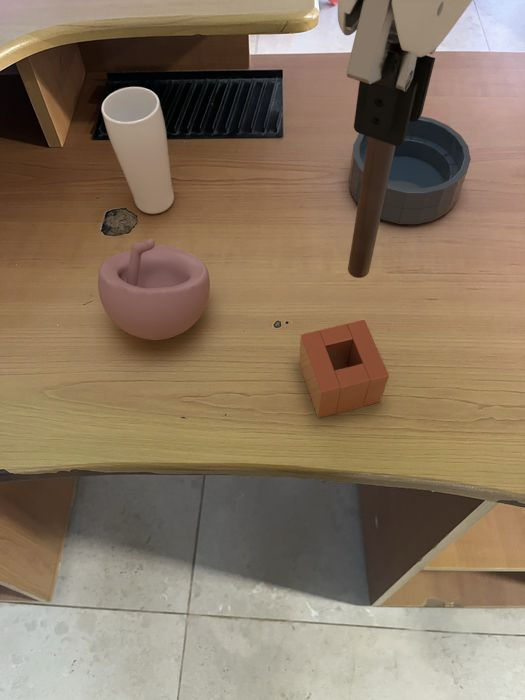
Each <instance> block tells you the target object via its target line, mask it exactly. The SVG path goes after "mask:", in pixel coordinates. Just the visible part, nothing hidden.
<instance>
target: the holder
mask: <svg viewBox="0 0 525 700" xmlns="http://www.w3.org/2000/svg"><path fill="white" fill-rule="evenodd" d="M299 342H300V343H299V361H298V364H299V367H300V371H301V373H302V376H303V379H304V381H305V384H306V387H307V391H308V393H309V396H310V399H311V402H312V405H313V408H314V410H315V414H316V416H317V418H318V419H319V418H324V417H328V416H331V415H335V414H336V415H337V414H340V413H343V412H348V411H351V410H355V409H358V408H359V409H360V408H362V407H366V406H369V405H374V404H378V403H380V402H381V401H382V398H383V394H384V392H385V389H386V386H387V383H388V380H389V377H390V373H389V372H388V370H387V367H386V365H385V362H384V360H383V358H382V356H381V354H380V351H379V349H378V347H377V344H376V341H375V339H374V338H373V335H372V333H371V331H370V328H369V326H368V324H367V321H366V319H364V318H363V319H360V320H355V321H351V322H347V323H343V324H339V325H335V326H331V327H327V328H323V329H318V330H313V331H309V332H306V333H301V334H300V340H299Z"/></svg>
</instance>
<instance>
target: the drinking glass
mask: <svg viewBox="0 0 525 700" xmlns="http://www.w3.org/2000/svg"><path fill="white" fill-rule="evenodd" d="M101 113H102V119H103V121H104V125H105V130H106V132H107V136H108V138H109V141H110V144H111V146H112V149H113V151H114V154H115V156H116V159H117V161H118V163H119V166H120V168H121V171H122V173H123V175H124V177H125V180H126V182H127V184H128V187H129V190H130V192H131V194H132V198H133V201H134V204H135V206H136V208H137V209H138V210H139V211H141V212H143V213H145V214H149V215H157V214H161V213H163V212H165V211H167V210H168V209H169V208H170V207H171V206H172V205H173V204H174V201H175V193H174V188H173V183H172V174H171V163H170V153H169V144H168V137H167V136H168V135H167V128H166V122H165V117H164V114H163V110H162V106H161V102H160V99H159V96H158V95H157V94H156V93H155V92H154V91H152V90H151V89H148V88H145V87H142V86H129V87H123V88H119V89H117V90H115V91H113V92H111V93H110V94H108V95H107V96H106V98H105V99H104V100H103V102H102V104H101Z"/></svg>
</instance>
